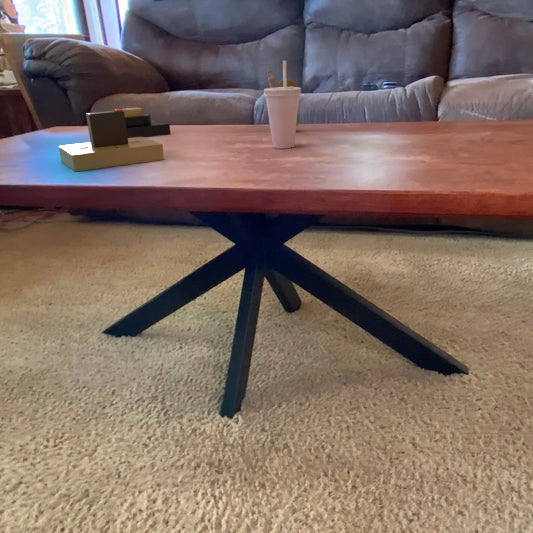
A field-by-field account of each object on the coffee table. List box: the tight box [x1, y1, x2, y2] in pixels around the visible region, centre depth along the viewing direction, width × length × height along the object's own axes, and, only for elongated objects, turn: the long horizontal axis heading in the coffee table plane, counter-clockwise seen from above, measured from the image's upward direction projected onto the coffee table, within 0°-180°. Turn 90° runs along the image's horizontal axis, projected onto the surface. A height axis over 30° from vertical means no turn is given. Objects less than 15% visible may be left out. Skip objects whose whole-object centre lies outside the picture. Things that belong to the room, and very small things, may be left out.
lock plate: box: [58, 137, 165, 172], centre depth 82 cm, size 14×10×3 cm
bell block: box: [125, 113, 171, 138], centre depth 107 cm, size 12×10×4 cm
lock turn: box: [85, 108, 128, 147], centre depth 81 cm, size 6×2×5 cm, turn 122°
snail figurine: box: [267, 69, 300, 127], centre depth 104 cm, size 5×6×12 cm
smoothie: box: [263, 60, 302, 149], centre depth 87 cm, size 6×6×14 cm
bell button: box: [121, 107, 143, 117], centre depth 106 cm, size 4×4×2 cm
